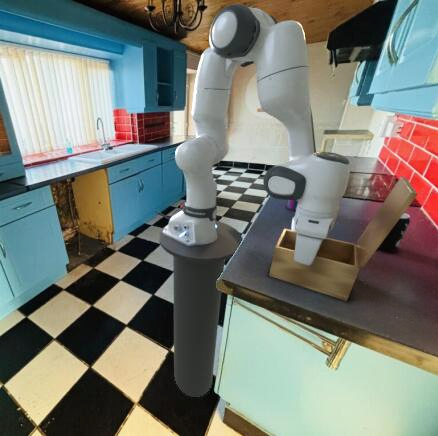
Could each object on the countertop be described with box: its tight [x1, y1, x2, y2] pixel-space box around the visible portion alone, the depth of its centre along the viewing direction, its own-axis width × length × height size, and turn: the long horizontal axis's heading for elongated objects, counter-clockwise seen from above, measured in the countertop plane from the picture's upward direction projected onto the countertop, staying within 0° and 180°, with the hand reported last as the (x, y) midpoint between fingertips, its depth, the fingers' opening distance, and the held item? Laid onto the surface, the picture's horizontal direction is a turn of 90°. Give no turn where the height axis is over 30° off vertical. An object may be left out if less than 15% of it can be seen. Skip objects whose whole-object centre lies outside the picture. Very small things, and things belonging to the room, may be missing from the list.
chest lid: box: [356, 176, 419, 268], centre depth 53 cm, size 18×13×1 cm
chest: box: [269, 228, 361, 302], centre depth 65 cm, size 18×13×10 cm
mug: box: [286, 200, 298, 212], centre depth 107 cm, size 7×10×7 cm
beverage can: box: [377, 212, 411, 253], centre depth 75 cm, size 7×7×12 cm
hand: (302, 261), depth 67 cm, fingers closed on supplement bottle, 5 cm apart
